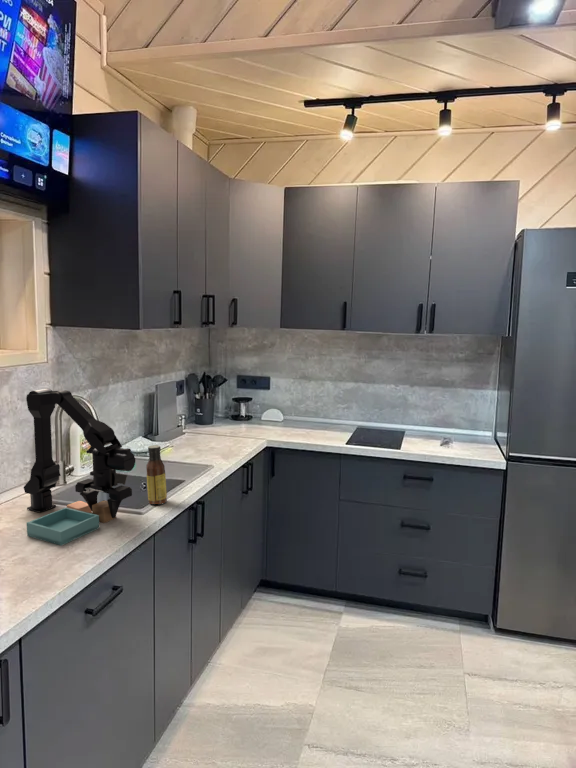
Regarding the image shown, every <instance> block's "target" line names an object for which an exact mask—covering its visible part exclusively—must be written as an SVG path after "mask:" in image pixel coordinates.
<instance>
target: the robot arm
mask: <svg viewBox="0 0 576 768" xmlns="http://www.w3.org/2000/svg"><path fill="white" fill-rule="evenodd" d="M25 399H26V404H27V410H28V412H29V413H30V415H31V416H32V417H33V429H34V430H33V433H34V451H35V454H34V455H35V457H34V458H35V462H34V464H33V465H32V467H31V469H30V477H29V480H28V481H27V482H26V483H25V485H23V490H24V493H25V494H29V495H30V506H28V507H26V509H27V510H28V509H29V510H28V511H32V512H36V513H42V512H45V511H48V510H51V509H53V508H55V507H57V505H56V504H54V503H53V495H52V490H51V489H53V488H56V487H57V483H58V481H59V479H60V476H61V472H60V470H61V468H60V467H61V466H60V464H59V463H57V464H56V462H55V461H54V460H53V447H52V445H53V443H52V441H53V440H52V422H51V421H52V418H51V417H52V414H53V413H54V411H55V408H56V405H58V406H59V407H60V408H61V409H62V411H64V412H65V413H66V414H67V415H68V417H69V418H70V419H72V421H73V422H74V423H76V425H78V427H79V428H80V429H81V431H82V433H83V437H84V439H85V440H86V442H87V443H88V445H89V446H90V447H89V448H88V449H87V450H86V452H85V453H86V454H92V455H91V456H92V470H91V471H90V472H89V475H90V476H92V478H93V479H91V478H86V479H83V480H81V481H78V482H76V484H75V488H74V489H75V492H76V493H79V495H80V496H81V497H82V498H83V499H84V501H85V502H86V503H87V504H88V505H89V507H90V509H91V510H92V505H94V504H96V503H98V496H99V493H105V494H107V495H108V498H107V499H106V501H108V505H109V509H110V513H111V516H112V518H115V517H116V518H117V514H118V510H119V509H120V505H121V503H122V501H123V500H125V499H127V498H129V497H132V495H133V489H132V487H130V486H126V482H127V477H128V474H124V473H120V472H117V471H123V472H131V471H132V470H133V468H135V465H136V457H135V454H134V453H132V449H131V448H128V447H127V448H123V445H122V444H121V442H120V441H119V439H118V437H117V436H116V435H115V431H114V429H113V428H112V427H111V426H109V425H108V424H107V423H105V422H103V421H100V420H98V419H96V418H95V417H94V416H92V414H91V413H90V412H89V411H88V410H87V409H86V408H85V407H84V406H83V405H82V404H81V403H80V402H79V401H78V400H77V399H76V398H75V397H74V396H73V394H72V392H71V391H70V390H65V389H64V390H52V389H50V388H41V389H36V390H31V391H29V392H28V394H27V395H26V398H25ZM119 484H121V485H119ZM118 485H119V486H118ZM116 486H117V487H116ZM116 518H115V519H116Z"/></svg>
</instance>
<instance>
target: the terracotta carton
mask: <svg viewBox="0 0 576 768" xmlns="http://www.w3.org/2000/svg"><path fill="white" fill-rule="evenodd" d="M66 507H67V508H71V509H75V510H79V511H83V512H87V513H91V514H92V510H91V509H90V507H89V505H88V504H87V502H86V501H85V502H84V501H82V500H77V501H75V502H72V503H69V504H66Z"/></svg>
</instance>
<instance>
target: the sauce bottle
mask: <svg viewBox="0 0 576 768" xmlns="http://www.w3.org/2000/svg"><path fill="white" fill-rule="evenodd" d="M147 451H148V462H147V464H146V467H145V468H146V485H147V487H146V488H147V499H148V503H149V504H150V505H151V504H162V503H164V504H166V503H167V500H168V499H167V496H168V494H167V493H168V492H167V480H166V479H167V477H166V469H165V464H164V462H163V460H162V457H161V445H159V444H154V445H148V447H147ZM165 502H166V503H165ZM162 505H163V504H162Z"/></svg>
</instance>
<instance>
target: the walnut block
mask: <svg viewBox="0 0 576 768" xmlns="http://www.w3.org/2000/svg"><path fill="white" fill-rule="evenodd" d="M91 514H96V515H99V523H101V524H102V523H103V524H106V523H108V522H111V521H112V520H115V519H117V516H116V517H115V518H112V516H111V513H110V509H109V505H108V501H107V500H100V501H99V502H97V503H96V504H94V505H92V513H91Z"/></svg>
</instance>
